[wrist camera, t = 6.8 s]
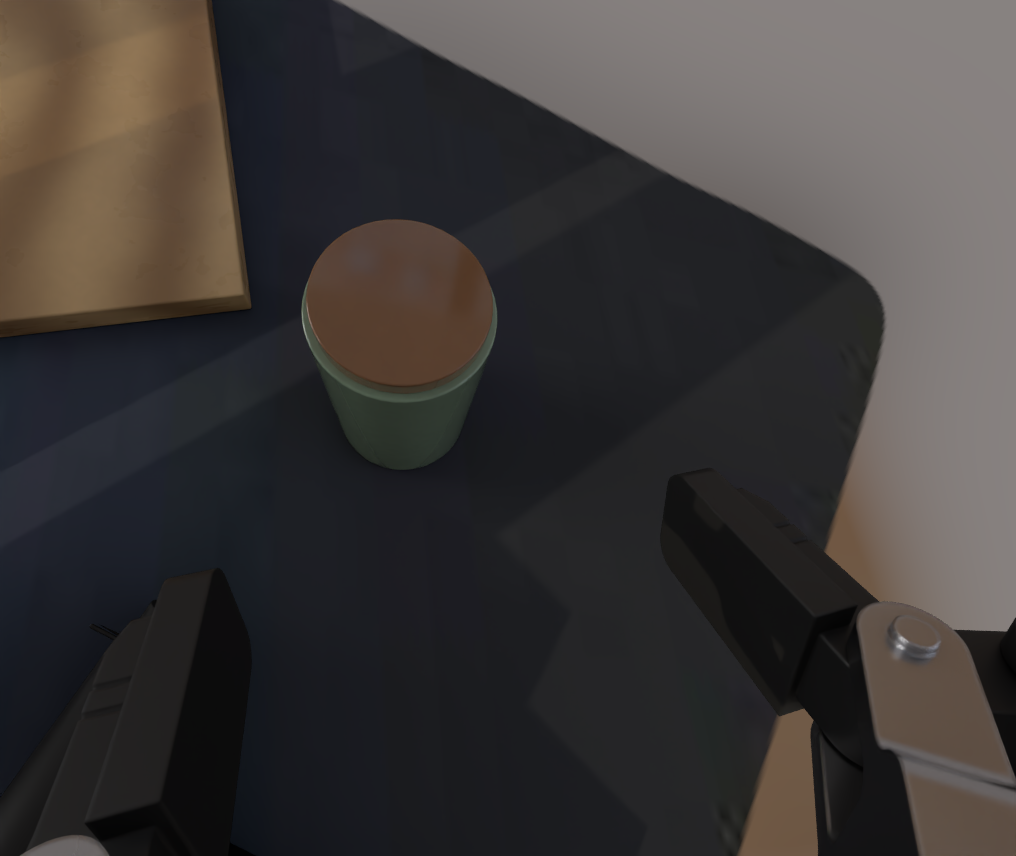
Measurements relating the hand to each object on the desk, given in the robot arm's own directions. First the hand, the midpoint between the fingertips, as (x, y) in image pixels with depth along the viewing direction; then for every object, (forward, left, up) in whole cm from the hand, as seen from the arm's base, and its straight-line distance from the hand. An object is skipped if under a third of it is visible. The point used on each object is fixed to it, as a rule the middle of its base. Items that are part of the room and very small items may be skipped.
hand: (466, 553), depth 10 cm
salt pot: (0, +6, -11) cm, 13 cm away
